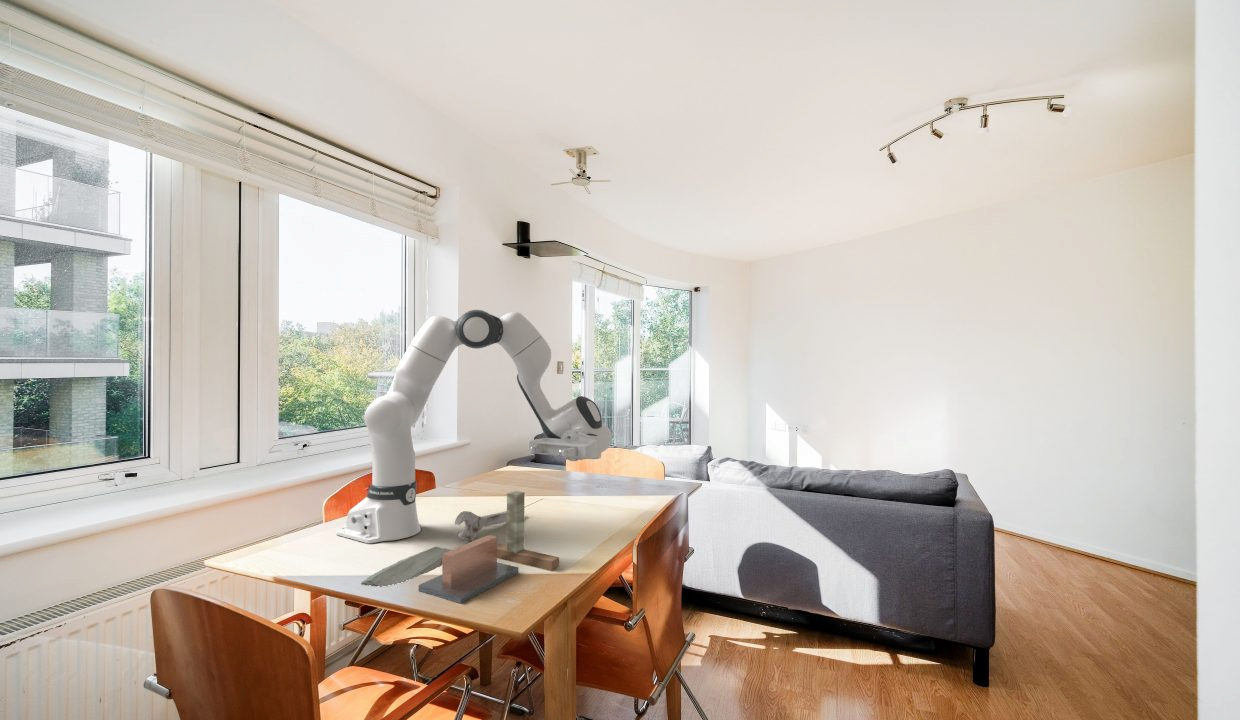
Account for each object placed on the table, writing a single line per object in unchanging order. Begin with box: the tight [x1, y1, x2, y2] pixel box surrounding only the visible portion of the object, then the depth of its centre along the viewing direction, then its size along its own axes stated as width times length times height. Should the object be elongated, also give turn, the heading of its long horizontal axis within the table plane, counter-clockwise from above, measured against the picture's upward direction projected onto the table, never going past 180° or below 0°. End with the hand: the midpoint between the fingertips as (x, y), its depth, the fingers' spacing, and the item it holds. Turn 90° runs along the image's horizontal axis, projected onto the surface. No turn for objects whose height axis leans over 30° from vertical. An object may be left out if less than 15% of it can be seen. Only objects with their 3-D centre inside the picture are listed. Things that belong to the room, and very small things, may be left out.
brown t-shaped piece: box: [497, 490, 560, 572], centre depth 132 cm, size 24×3×16 cm, turn 61°
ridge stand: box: [418, 534, 520, 604], centre depth 118 cm, size 12×18×8 cm, turn 151°
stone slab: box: [360, 546, 452, 588], centre depth 125 cm, size 22×3×10 cm
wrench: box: [454, 510, 507, 541], centre depth 154 cm, size 8×2×30 cm
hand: (546, 452), depth 142 cm, fingers open, 8 cm apart
